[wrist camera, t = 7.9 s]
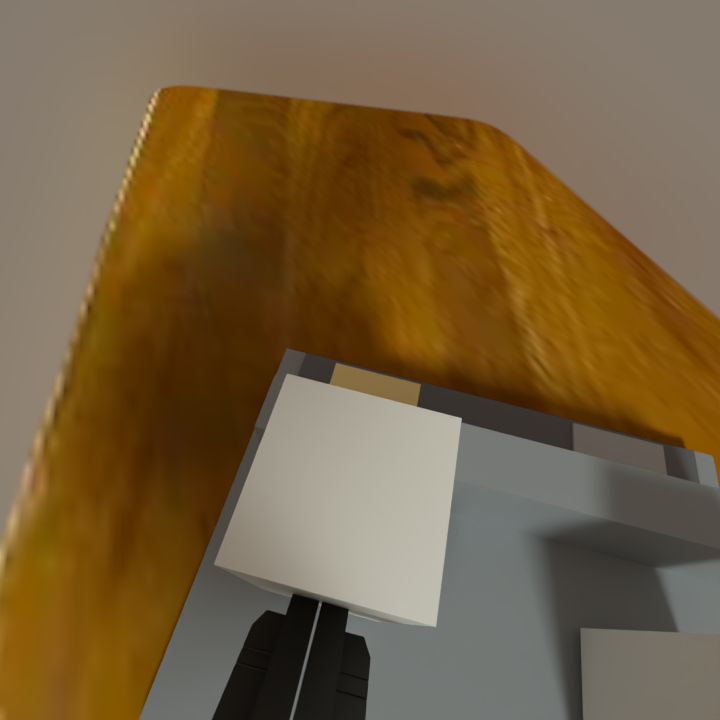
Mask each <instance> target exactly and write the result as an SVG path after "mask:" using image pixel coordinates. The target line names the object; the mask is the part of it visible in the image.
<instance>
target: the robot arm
mask: <svg viewBox="0 0 720 720" xmlns="http://www.w3.org/2000/svg"><path fill="white" fill-rule="evenodd" d="M318 605H319V601H318V600H314V599H311V598H307V597H304V596H300V595H296V594H293V595H292V597H291V600H290V603H289V606H288V609H287V612H286V615H284V614H280V613H277V612H273V611H270V610H266V611H265V612H264V613H263V614H262V615H261V616H260V617H259V618H258V619H257V620H256V621H255V622H254V623H253V624H252V626H251V628H250V630H249V633H248V635H247V637H246V640H245V642H244V645H243V648H242V649H241V652H240V654H239V656H238V659H237V661H236V664H235V666H234V668H233V670H232V673H231V675H230V678H229V680H228V682H227V685H226V687H225V689H224V692H223V694H222V696H221V699H220V701H219V704H218V706H217V708H216V711H215V713H214V715H213V718H212V720H290V717H291V713H292V709H293V705H294V701H295V697H296V693H297V689H298V685H299V681H300V677H301V673H302V669H303V665H304V661H305V657H306V653H307V649H308V645H309V641H310V637H311V633H312V629H313V625H314V621H315V617H316V613H317V609H318ZM348 612H349V609H346V608H343V607H339V606H336V605H332V604H328V603H325V602H322V604H321V608H320V612H319V616H318V620H317V624H316V628H315V632H314V636H313V640H312V644H311V648H310V652H309V656H308V660H307V664H306V668H305V672H304V676H303V680H302V684H301V688H300V692H299V696H298V700H297V704H296V709H295V713H294V717H293V720H365V718H366V706H367V703H366V702H367V695H368V681H369V671H370V660H371V657H370V654H369V651H368V648H367V644H366V641H365V638H364V637H363V636H359V635H356V634H352V633H349V632H345V631H346V625H347V619H348Z"/></svg>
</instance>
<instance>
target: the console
mask: <svg viewBox="0 0 720 720" xmlns="http://www.w3.org/2000/svg"><path fill="white" fill-rule="evenodd" d="M287 374H291V375H295V376H299V377H302V378H306V379H310V380H314V381H318V382H322V383H326V384H330V385H334V386H338V387H342V388H345V389H349V390H353V391H357V392H361V393H365V394H369V395H373V396H377V397H381V398H385V399H388V400H392V401H396V402H400V403H404V404H408V405H412V406H416V407H420V408H424V409H428V410H431V411H435V412H439V413H443V414H447V415H451V416H455V417H459V418H462V420H461V428H460V436H459V445H458V453H457V461H456V469H455V477H454V485H453V493H452V501H451V510H450V518H449V526H448V534H447V542H446V550H445V558H444V567H443V575H442V583H441V591H440V599H439V607H438V615H437V623H436V627H430V626H420V625H409V624H398V623H387V622H377V621H373V620H370V619H366V618H362V617H359V616H355V615H352V614H348V619H347V625H346V631H345V632H349V633H352V634H356V635H359V636H363V637H364V638H365V641H366V644H367V648H368V651H369V654H370V657H371V660H370V671H369V681H368V695H367V702H366V703H367V706H366V718H365V720H583V701H582V667H581V633H580V628H592V629H614V630H636V631H659V632H681V633H703V634H720V489H719V484H718V479H717V474H716V469H715V465H714V460H713V456H711V455H707V454H703V453H699V452H695V451H693V450H689V449H685V448H681V447H677V446H673V445H669V444H665V443H661V442H657V441H653V440H649V439H645V438H641V437H637V436H633V435H629V434H625V433H622V432H618V431H614V430H610V429H606V428H602V427H598V426H594V425H590V424H586V423H582V422H578V421H574V420H570V419H566V418H562V417H558V416H554V415H550V414H546V413H542V412H538V411H535V410H531V409H527V408H523V407H519V406H515V405H511V404H507V403H503V402H499V401H495V400H491V399H487V398H483V397H479V396H475V395H471V394H467V393H463V392H459V391H455V390H451V389H447V388H444V387H440V386H436V385H432V384H428V383H424V382H420V381H416V380H412V379H408V378H404V377H400V376H396V375H392V374H388V373H384V372H380V371H376V370H372V369H368V368H364V367H360V366H357V365H353V364H349V363H345V362H341V361H337V360H333V359H329V358H325V357H321V356H317V355H313V354H309V353H304V352H300V351H296V350H292V349H288V348H286V351H285V353H284V356H283V358H282V361H281V363H280V366H279V368H278V371H277V373H276V375H275V376H274V378H273V381H272V383H271V386H270V388H269V391H268V393H267V396H266V398H265V401H264V403H263V406H262V408H261V411H260V413H259V416H258V418H257V421H256V423H255V426H254V427H255V429H254V431H253V434H252V436H251V439H250V441H249V444H248V446H247V449H246V451H245V454H244V456H243V459H242V461H241V464H240V466H239V469H238V471H237V474H236V476H235V479H234V481H233V484H232V486H231V489H230V491H229V494H228V497H227V499H226V502H225V504H224V507H223V509H222V512H221V514H220V517H219V519H218V522H217V524H216V527H215V529H214V532H213V534H212V537H211V539H210V542H209V544H208V547H207V549H206V552H205V554H204V557H203V559H202V562H201V564H200V567H199V569H198V572H197V574H196V577H195V579H194V582H193V584H192V587H191V589H190V592H189V594H188V597H187V599H186V602H185V604H184V607H183V609H182V612H181V615H180V617H179V620H178V622H177V625H176V627H175V630H174V632H173V635H172V637H171V640H170V642H169V645H168V647H167V650H166V652H165V655H164V657H163V660H162V662H161V665H160V667H159V670H158V672H157V675H156V677H155V680H154V682H153V685H152V687H151V690H150V692H149V695H148V697H147V700H146V702H145V705H144V707H143V710H142V712H141V715H140V717H139V720H212V718H213V715H214V713H215V711H216V708H217V706H218V704H219V701H220V699H221V696H222V694H223V692H224V689H225V687H226V685H227V682H228V680H229V678H230V675H231V673H232V670H233V668H234V666H235V664H236V661H237V659H238V656H239V654H240V652H241V649H242V648H243V645H244V642H245V640H246V637H247V635H248V633H249V630H250V628H251V626H252V624H253V623H254V622H255V621H256V620H257V619H258V618H259V617H260V616H261V615H262V614H263V613H264V612H265V611H266V610H270V611H273V612H277V613H280V614H284V615H286V612H287V609H288V606H289V603H290V600H291V597H288V596H284V595H281V594H277V593H274V592H270V591H267V590H264V589H262V588H260V587H258V586H256V585H254V584H252V583H250V582H248V581H246V580H244V579H242V578H239V577H237V576H235V575H233V574H231V573H229V572H227V571H225V570H223V569H221V568H219V567H217V566H215V565H214V563H215V560H216V557H217V555H218V552H219V549H220V547H221V544H222V542H223V539H224V536H225V534H226V531H227V529H228V526H229V523H230V521H231V518H232V516H233V513H234V510H235V508H236V505H237V503H238V500H239V497H240V495H241V492H242V489H243V487H244V484H245V482H246V479H247V476H248V474H249V471H250V469H251V466H252V463H253V461H254V458H255V456H256V453H257V450H258V448H259V445H260V442H261V440H262V437H263V435H264V432H265V429H266V427H267V424H268V422H269V419H270V416H271V414H272V411H273V409H274V406H275V403H276V401H277V398H278V396H279V393H280V390H281V388H282V385H283V382H284V380H285V377H286V375H287ZM320 608H321V606H320V605H318V609H317V613H316V617H315V621H314V625H313V629H312V633H311V637H310V641H309V645H308V649H307V653H306V657H305V661H304V665H303V669H302V673H301V677H300V681H299V685H298V689H297V693H296V697H295V701H294V705H293V709H292V713H291V717H290V720H293V717H294V713H295V709H296V704H297V700H298V696H299V692H300V688H301V684H302V680H303V676H304V672H305V668H306V664H307V660H308V656H309V652H310V648H311V644H312V640H313V636H314V632H315V628H316V624H317V620H318V616H319V612H320Z"/></svg>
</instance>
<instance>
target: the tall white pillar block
mask: <svg viewBox="0 0 720 720" xmlns="http://www.w3.org/2000/svg"><path fill="white" fill-rule="evenodd" d="M461 420H462V418H459V417H455V416H451V415H447V414H443V413H439V412H435V411H431V410H428V409H424V408H420V407H416V406H412V405H408V404H404V403H400V402H396V401H392V400H388V399H385V398H381V397H377V396H373V395H369V394H365V393H361V392H357V391H353V390H349V389H345V388H342V387H338V386H334V385H330V384H326V383H322V382H318V381H314V380H310V379H306V378H302V377H299V376H295V375H291V374H287V375H286V377H285V380H284V382H283V385H282V388H281V390H280V393H279V396H278V398H277V401H276V403H275V406H274V409H273V411H272V414H271V416H270V419H269V422H268V424H267V427H266V429H265V432H264V435H263V437H262V440H261V442H260V445H259V448H258V450H257V453H256V456H255V458H254V461H253V463H252V466H251V469H250V471H249V474H248V476H247V479H246V482H245V484H244V487H243V489H242V492H241V495H240V497H239V500H238V503H237V505H236V508H235V510H234V513H233V516H232V518H231V521H230V523H229V526H228V529H227V531H226V534H225V536H224V539H223V542H222V544H221V547H220V549H219V552H218V555H217V557H216V560H215V563H214V565H215V566H217V567H219V568H221V569H223V570H225V571H227V572H229V573H231V574H233V575H235V576H237V577H239V578H242V579H244V580H246V581H248V582H250V583H252V584H254V585H256V586H258V587H260V588H262V589H264V590H267V591H270V592H274V593H277V594H281V595H284V596H288V597H292V595H293V594H296V595H300V596H304V597H307V598H311V599H314V600H318V601H319V605H320V606H321V604H322V602H325V603H328V604H332V605H336V606H339V607H343V608H346V609H349V612H348V614H352V615H355V616H359V617H362V618H366V619H370V620H373V621H377V622H387V623H398V624H409V625H420V626H430V627H436V623H437V615H438V607H439V599H440V591H441V583H442V575H443V567H444V558H445V550H446V542H447V534H448V526H449V518H450V510H451V501H452V493H453V485H454V477H455V469H456V461H457V453H458V445H459V436H460V428H461Z"/></svg>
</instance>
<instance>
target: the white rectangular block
mask: <svg viewBox="0 0 720 720" xmlns="http://www.w3.org/2000/svg"><path fill="white" fill-rule="evenodd" d="M580 633H581V667H582V701H583V720H720V634H703V633H681V632H659V631H636V630H614V629H592V628H580Z"/></svg>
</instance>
